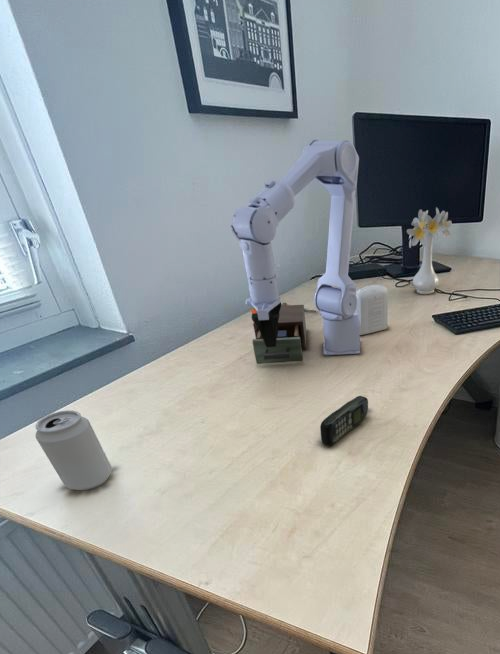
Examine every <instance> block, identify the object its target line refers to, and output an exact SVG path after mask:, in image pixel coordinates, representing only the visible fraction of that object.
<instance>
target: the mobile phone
mask: <svg viewBox="0 0 500 654" xmlns="http://www.w3.org/2000/svg"><path fill="white" fill-rule="evenodd" d="M368 411H369V400H368V398H367V397H365V396H364V395H358V396H356V397H354V398H353V399H351V400H349V401H347V402H346V403H344V404H343V405H342V406H341V407H339V408H337V410H335V411H333V412H332V413H330V414H329V415H328V416H327V417H325V418H324V419H323V420H322V421H321V423H320V427H319V428H320V440H321V442H322V444H323V445H324V446H327V447H331V446H333V445H334V444H335V443H336V442H337V441H340V439H341V438H342V437H344V436H346V434H348V433H349V432H350V431H352V430H353V429H355V428H356V427H358V426H359V425H360V424H361V423H362V422H363V421H364V420H365V418H366V417H367V415H368Z"/></svg>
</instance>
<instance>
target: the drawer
mask: <svg viewBox="0 0 500 654" xmlns="http://www.w3.org/2000/svg"><path fill="white" fill-rule="evenodd" d="M284 330H287V336H288V338H277V341H276V347H266V345H265V343H264V340H263V338H262V335H261V333H260V331H258V334H257V339H256V338H253V339H252V341H251V342H252V346H253V352H254V357H255V362H256V365H261V364H280V363H281V364H282V363H297V362H299V363H300V362H304V358H303V357H304V356H303V350H302V348H301V338H300V329H299V325H284V326H278V331H284Z"/></svg>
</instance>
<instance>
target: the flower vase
mask: <svg viewBox="0 0 500 654" xmlns="http://www.w3.org/2000/svg"><path fill="white" fill-rule="evenodd" d="M417 214H418V215H417V217H413V220H412V221H411V224H410V225H411V226H413V228H408V229H406V233H407V235H408V236H410V237H411V236H412V237H413V238H412V239H411V246H412V247H415V246H417V245H418V243H420V244H421V245H422V246H423V249H422V250H423V251H422V259H421V260H422V261H421V265H420V267H419V270H418V271H417V273H416V274H415V275H414V276H413V278H412V282H411V283H412V285H413V287H414V288H415V289H416V293H417V294H420V295H431V294H434V292H435V289H437V288H438V286H439V285H440V278H439V276H438V275H437V273H436V272H435V270H434V266H433V245H434V240H435V241H437V240H438V238H439V233H438V232H442V235H443V238H446V237H447V238H448V239H451V233H450V231H449V229H450V228H451V227H452V225H453V223H452V220H448V218H449V212H448V211H445V210H442V211H441V212H440V210H439V208H438V207H437V206H436V207H435V216H434V217H431V216H430V215H429V210H428V209H427V210H426V211H423V209H419V210H418V212H417Z"/></svg>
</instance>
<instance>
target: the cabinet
mask: <svg viewBox="0 0 500 654" xmlns="http://www.w3.org/2000/svg"><path fill="white" fill-rule="evenodd" d="M304 309H305V304H289V305H284V306H281V308H280V311H279V314H280V316H279V319H278V326H284V325H299V329H300V338H301V348H302V351H306V350H307V331H308V330H307V322H306V314H305V313H306V312H304ZM252 325H253V331H254V336H255V339H257V334H258V331H259V329H258V327H257V326H256V324H255V323H254V322H253V324H252Z"/></svg>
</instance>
